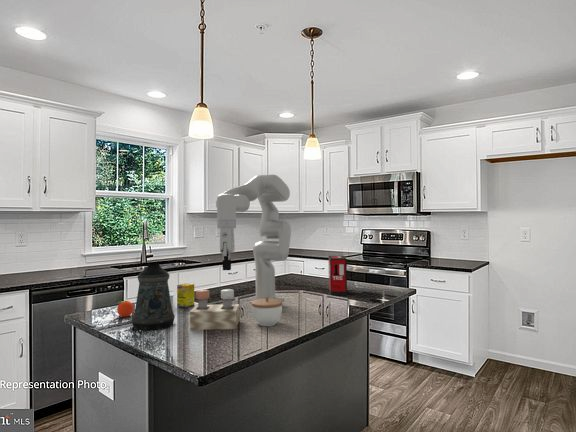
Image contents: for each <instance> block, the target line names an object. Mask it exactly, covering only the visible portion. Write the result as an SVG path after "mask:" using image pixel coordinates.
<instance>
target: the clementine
mask: <svg viewBox="0 0 576 432" xmlns="http://www.w3.org/2000/svg"><path fill="white" fill-rule="evenodd" d="M117 304H118V305H117ZM116 305H117V307H116V311H117V314H118V315H119V316H121V317H123V318H126V317H129V316H131V315H132V314H134V311H135V306H134V304H133V303H132V302H131V301H130V300H123V301H119V302H117V303H116Z"/></svg>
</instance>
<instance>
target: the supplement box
mask: <svg viewBox="0 0 576 432" xmlns="http://www.w3.org/2000/svg"><path fill="white" fill-rule="evenodd" d="M176 286H177V287H176V289H177V291H176V292H177V293H176V295H177V296H176V297H177V298H176V299H177V300H176V301H177V304H176V305H177V308H183V309H189V308H192V307H195V284H194V283H186V282H185V283H180V284H176Z"/></svg>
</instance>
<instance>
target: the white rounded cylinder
mask: <svg viewBox="0 0 576 432" xmlns="http://www.w3.org/2000/svg"><path fill="white" fill-rule="evenodd" d="M234 298H235V290H234V289H231V288H226V289H222V290H220V299H222V305H223V309H232V304H233V299H234Z"/></svg>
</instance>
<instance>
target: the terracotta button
mask: <svg viewBox="0 0 576 432" xmlns="http://www.w3.org/2000/svg"><path fill="white" fill-rule="evenodd" d="M195 299H196V300H197V301H198V302H197V303H198V304H197V305H198V310H205V309H207V305H208V299H210V290H209V289H198V290H196V291H195Z"/></svg>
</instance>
